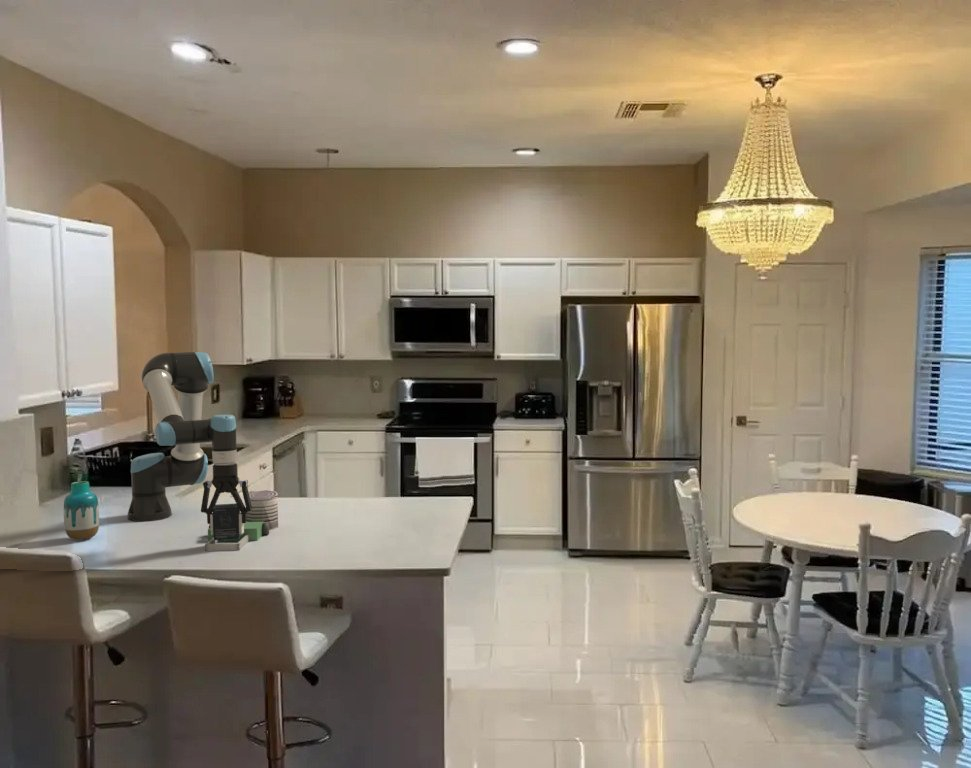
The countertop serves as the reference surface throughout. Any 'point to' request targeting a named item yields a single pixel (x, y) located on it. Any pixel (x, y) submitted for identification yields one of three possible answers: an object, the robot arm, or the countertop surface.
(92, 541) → the countertop surface
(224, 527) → the box
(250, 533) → the green tray fixture
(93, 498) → the vase
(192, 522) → the countertop surface
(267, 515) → the can
